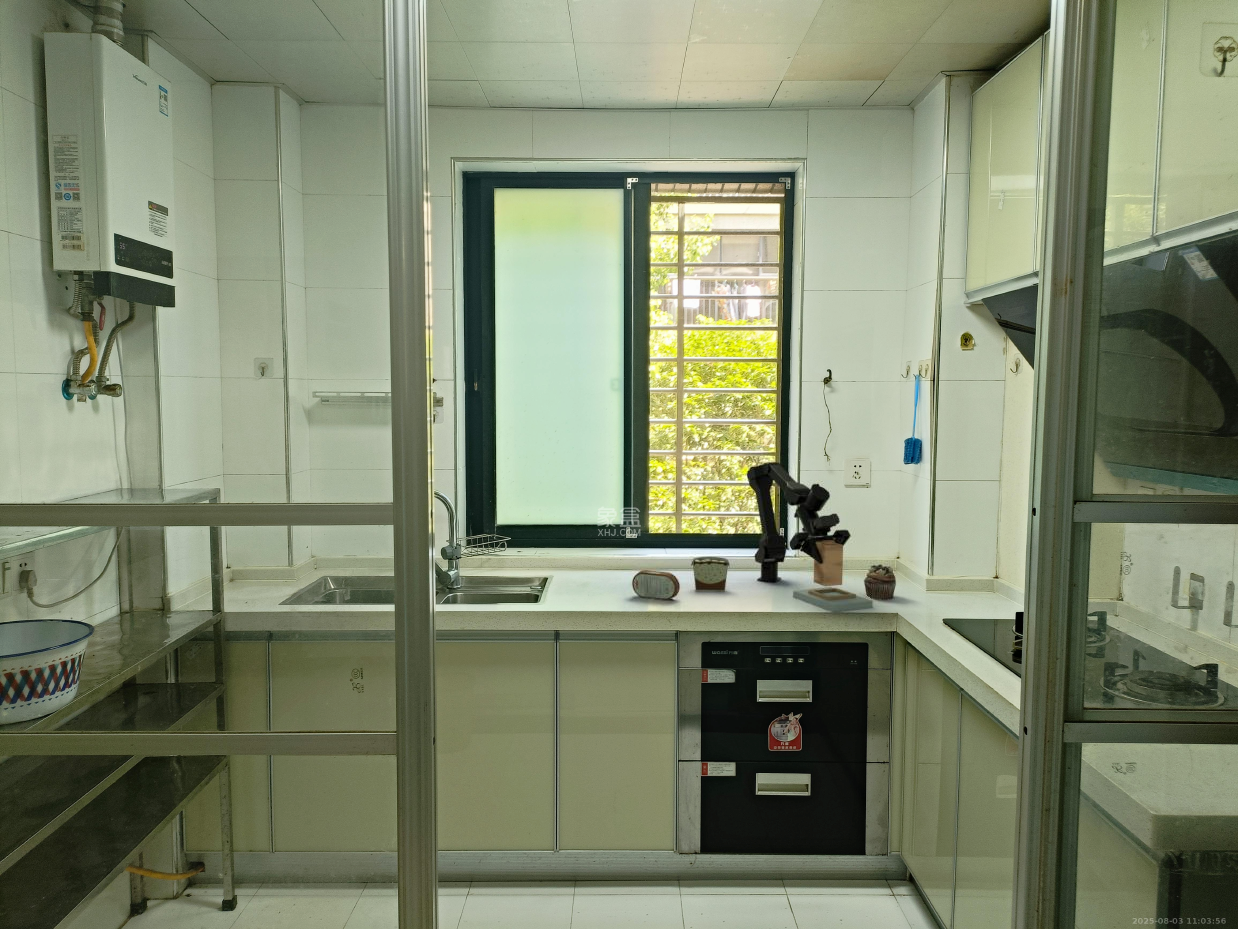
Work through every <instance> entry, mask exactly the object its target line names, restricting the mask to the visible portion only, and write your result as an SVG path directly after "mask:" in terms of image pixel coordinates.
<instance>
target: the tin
mask: <svg viewBox="0 0 1238 929" xmlns="http://www.w3.org/2000/svg"><path fill="white" fill-rule="evenodd" d="M680 585H681V584H680V581H679V579H678V578H677V576H676V575H674V574H673V573H671V572H667V571H658V570H648V569H643V570H639V572H638V573H636V574H635V575H634V576H633V578H632V581H631V586H632V589H633V591H634V593H635V595H637V596H638V597H641V598H643V599H651V598H654V599H653V600H659V599H662V600H661V601H669V600H672V599H673V598H675V597H677V595H678V594H679V591H680V589H681V586H680Z"/></svg>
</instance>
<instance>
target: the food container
mask: <svg viewBox="0 0 1238 929" xmlns="http://www.w3.org/2000/svg"><path fill="white" fill-rule="evenodd" d="M690 566H691V567H693V578H694V588H695V591H700V592H701V591H705V592H706V591H707V592H709V591H710V592H725V591H726V586H727V585H726V584H727V576H728V568H730V567H731V565H730V562H729V559H728V558H725V557H720V556H719V557H718V556H699V557H694V558H692V561H691V564H690Z"/></svg>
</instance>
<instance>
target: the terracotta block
mask: <svg viewBox="0 0 1238 929" xmlns="http://www.w3.org/2000/svg"><path fill="white" fill-rule="evenodd" d="M816 547H817V549H818V551H819V553H820V555H821V558H822V560H823V563H822V564H820V563H818V562H817V561H816V560H814V559H813V583H815V584H817V585H820V586H824V587H832V586H842V585H843V572H844V571H843V570H844V568H843V567H844V566H843V565H844V562H843V561H844V546H843V545H841V544H838V543H835V541H831V540H824V541H823V542H821V543H816Z"/></svg>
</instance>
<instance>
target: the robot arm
mask: <svg viewBox="0 0 1238 929" xmlns="http://www.w3.org/2000/svg"><path fill="white" fill-rule="evenodd" d="M746 477H747V478H746V479H747V480H748V484H749V487H750V488H751V489H752V490H753V491H754V493H755V498H756V503H757V507H758V508H757V510H758V513H759V515H758V516H759V521H760V527H761V532H762V533H761V537H760V539H759V542H758V543H759V544H758V546H759V548H758V549H757V551H756V553H755V554H754V561H755V563H759V564H760V577H758V578H757V579H756V581H759V580H760V581H761V582H768V581H770V582H771V583H776V581H777V582H778V580H779V581H780V580H782V577H779V563H784V561H785V559H786V554H787V545H786V540H785V536H784V535H781V534H780V533H779V532H778V529H777V524H776V517H775V512H774V505H773V500H772V495H771V488H772V487H773V483H775V484H776V485H777V486H778V487H779V488H780V489H781V490H782V491H783V493H784V495H783V496H784V499H785V501H786V503H787V504H788V505H789V506H791V507H793V506H794V507H795V506H798V507H797V508H796V509H795V512H794V515H793V517H794V518H795V519H797V518H798V519H799V520H800V522H801V525H802V529H801V532H799V531H797V532H794V534H793V536H792V538H791V539H790V541H789V547H790V549H791V550H792V551H798V550H799V551H800V552H802V553H804V554H806V555H808V556H809V557H810V558H812V559H813V561H814V560H816V561H817V562H818V563H820V564H822V563H823V560H822V558H821V555H820V553H819V551H818V549H817V547H816V543H821V542H823V541H824V540H831V541H835V543H838V544H841V545H843V547H844V546H845V544H846V543H847V542H848V540H849V539H850V538H851V537H852V536H851V533H850V531H849V530H848V529H835V531H834V532H833V533H832V534H829V533H831V531H832V529H831V528H833V527H836V526H837V525H838V524H840V517H839V515H838V513H831V514H829V515H819V513H818V512H820V511H822V510H823V508H824V507H825V505H826V504H827V502H828V501H829V500H830V498H831V495H830V492H829V490H827V489H826V488H825V487H822V486H820V484H819V483H813V484H812V485H811V486H810V487H808V486H807V485H805V484H803V483H799V482H797V481H796V480H795V479H794V478H793V477H792V476H791V475H790V474H789V473H788V472H787V471H786V470H785V469H784V468H783V467H782V465H781V463H780V462H778V461H766V462H765V463H763V464H759V465H755V466H750V467H749V469H748V470H747V472H746Z"/></svg>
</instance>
